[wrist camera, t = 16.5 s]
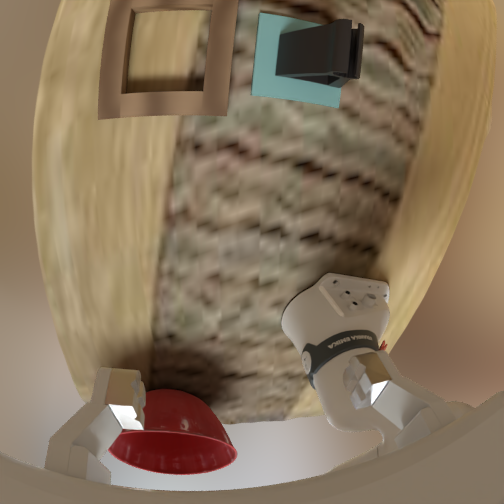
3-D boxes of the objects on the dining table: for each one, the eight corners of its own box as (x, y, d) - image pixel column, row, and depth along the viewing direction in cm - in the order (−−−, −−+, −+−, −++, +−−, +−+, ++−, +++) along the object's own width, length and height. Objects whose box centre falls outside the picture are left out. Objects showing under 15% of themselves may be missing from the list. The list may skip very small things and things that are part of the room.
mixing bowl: (106, 359, 50) (93, 422, 37) (240, 373, 57) (251, 435, 44) (120, 420, 62) (116, 467, 49) (219, 429, 70) (225, 475, 56)
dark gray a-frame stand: (274, 75, 31) (306, 62, 20) (279, 34, 28) (312, 7, 18) (338, 88, 32) (389, 87, 22) (342, 50, 30) (394, 36, 19)
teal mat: (343, 32, 29) (345, 31, 28) (336, 107, 34) (338, 108, 34) (258, 14, 27) (260, 12, 26) (250, 95, 32) (251, 95, 32)
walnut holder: (237, -6, 25) (240, -13, 23) (225, 115, 33) (226, 116, 31) (117, -2, 22) (112, -8, 20) (104, 118, 30) (97, 119, 28)
